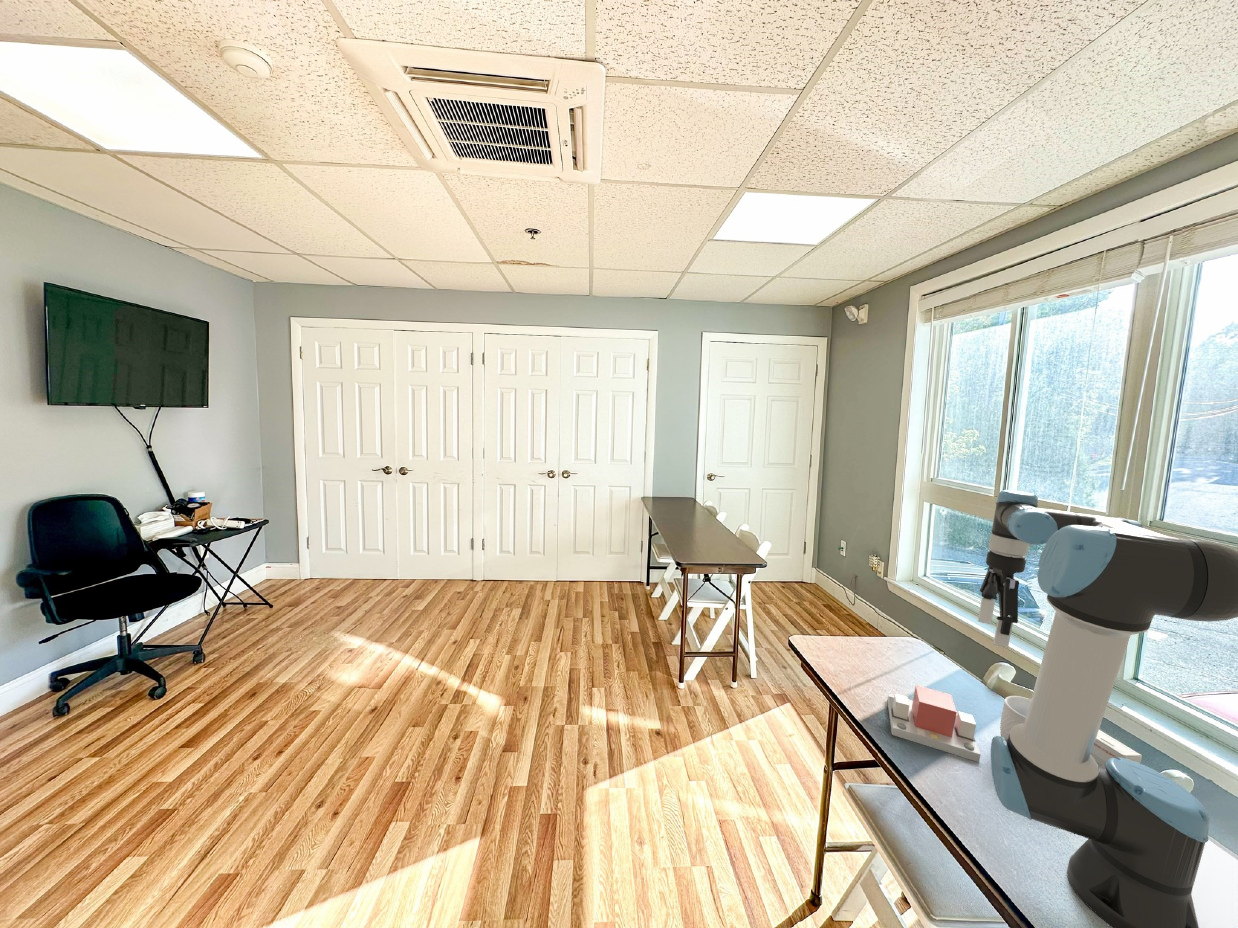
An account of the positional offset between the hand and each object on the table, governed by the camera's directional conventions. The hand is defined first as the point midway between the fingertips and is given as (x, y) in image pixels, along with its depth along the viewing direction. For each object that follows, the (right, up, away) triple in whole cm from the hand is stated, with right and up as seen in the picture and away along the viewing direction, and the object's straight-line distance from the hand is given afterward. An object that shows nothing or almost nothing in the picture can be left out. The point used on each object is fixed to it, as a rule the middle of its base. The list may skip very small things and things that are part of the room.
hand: (991, 633), depth 121 cm
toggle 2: (-9, -24, -2) cm, 25 cm away
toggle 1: (-21, -22, +4) cm, 31 cm away
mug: (+3, -28, -8) cm, 29 cm away
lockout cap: (-15, -23, +1) cm, 27 cm away
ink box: (+12, -30, -15) cm, 35 cm away
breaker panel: (-15, -25, +2) cm, 29 cm away
